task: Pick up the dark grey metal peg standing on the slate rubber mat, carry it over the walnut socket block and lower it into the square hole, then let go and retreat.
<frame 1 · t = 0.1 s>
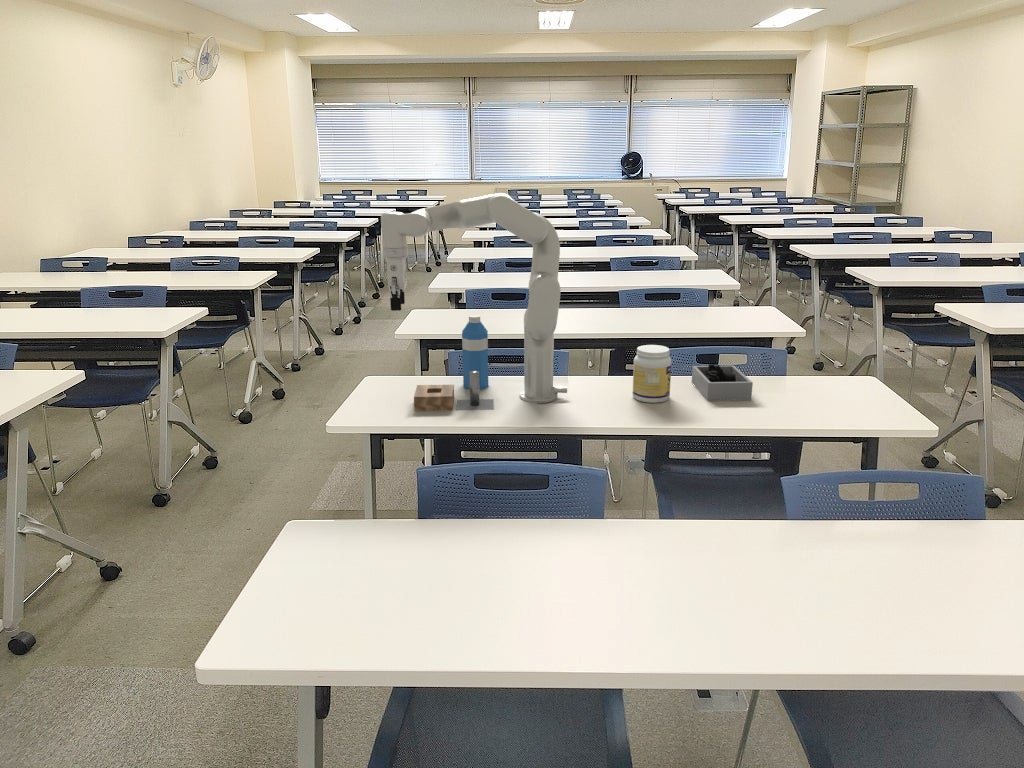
hand: (397, 307, 235), 31 cm above the table, fingers open, 9 cm apart
supplement tub: (650, 398, 245), on the table
film camera: (719, 391, 251), resting in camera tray
water bottle: (476, 386, 258), on the table
peg: (475, 404, 238), resting on mat
mat: (475, 405, 239), on the table
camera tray: (720, 390, 251), on the table
socket block: (434, 405, 239), on the table
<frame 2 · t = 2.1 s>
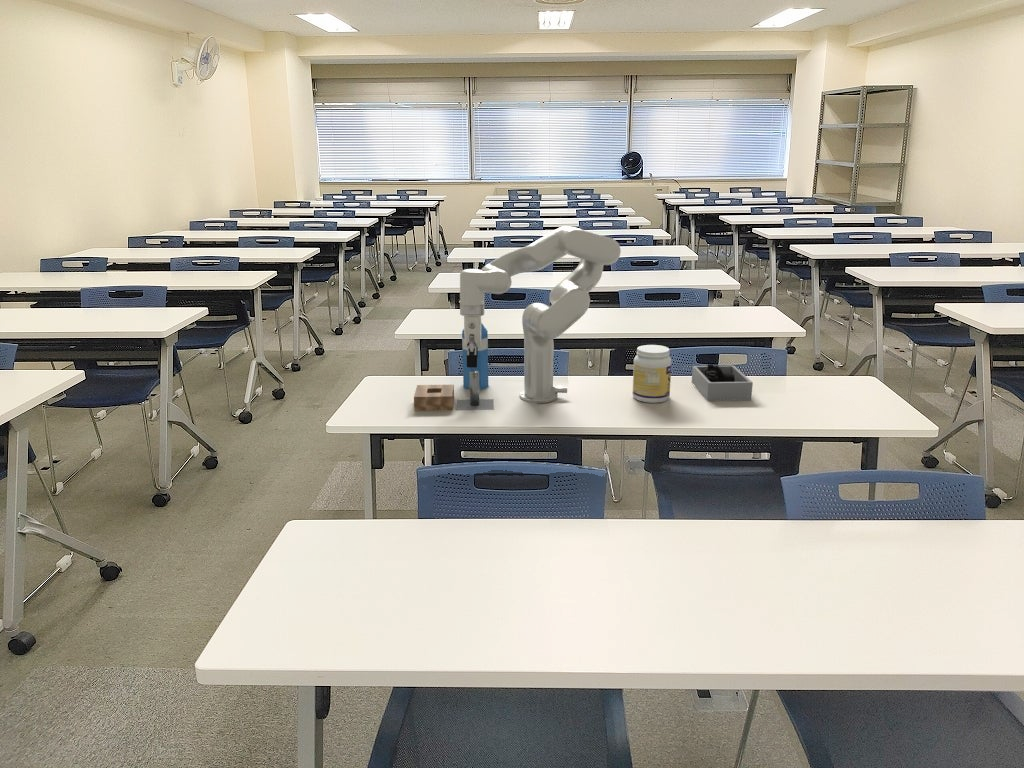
hand: (472, 362, 234), 14 cm above the table, fingers open, 9 cm apart
nothing on the table moved.
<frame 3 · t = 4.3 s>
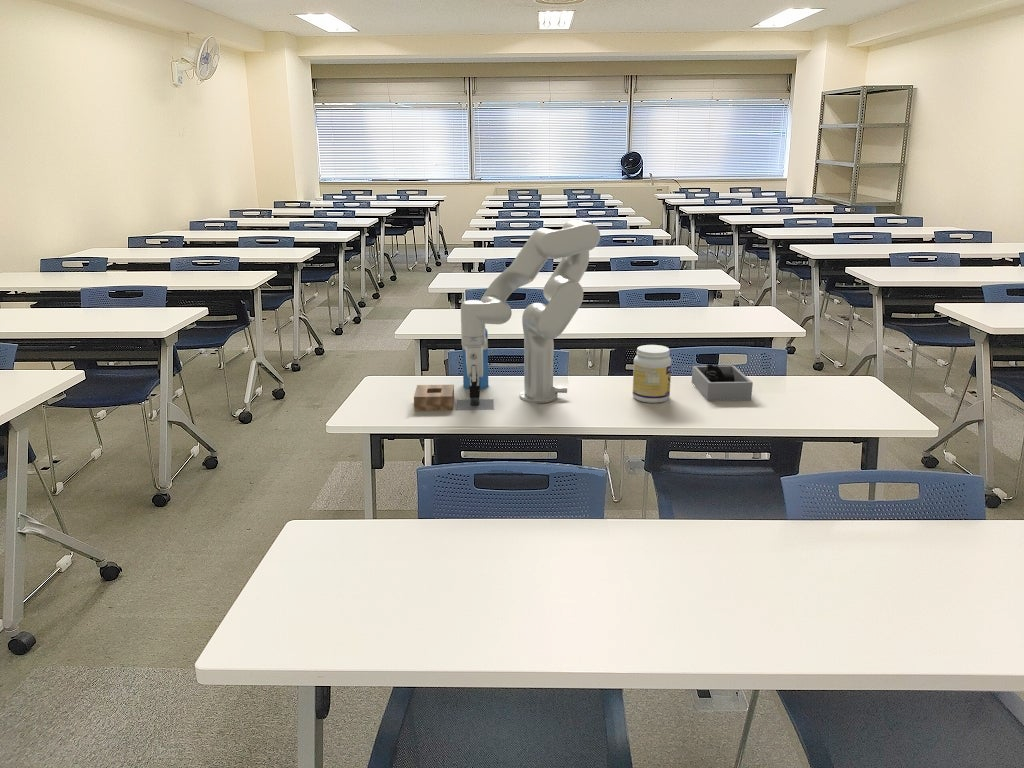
hand: (474, 395, 237), 4 cm above the table, fingers closed on peg, 3 cm apart
peg: (475, 404, 238), resting on mat, touching gripper
everything else where it was.
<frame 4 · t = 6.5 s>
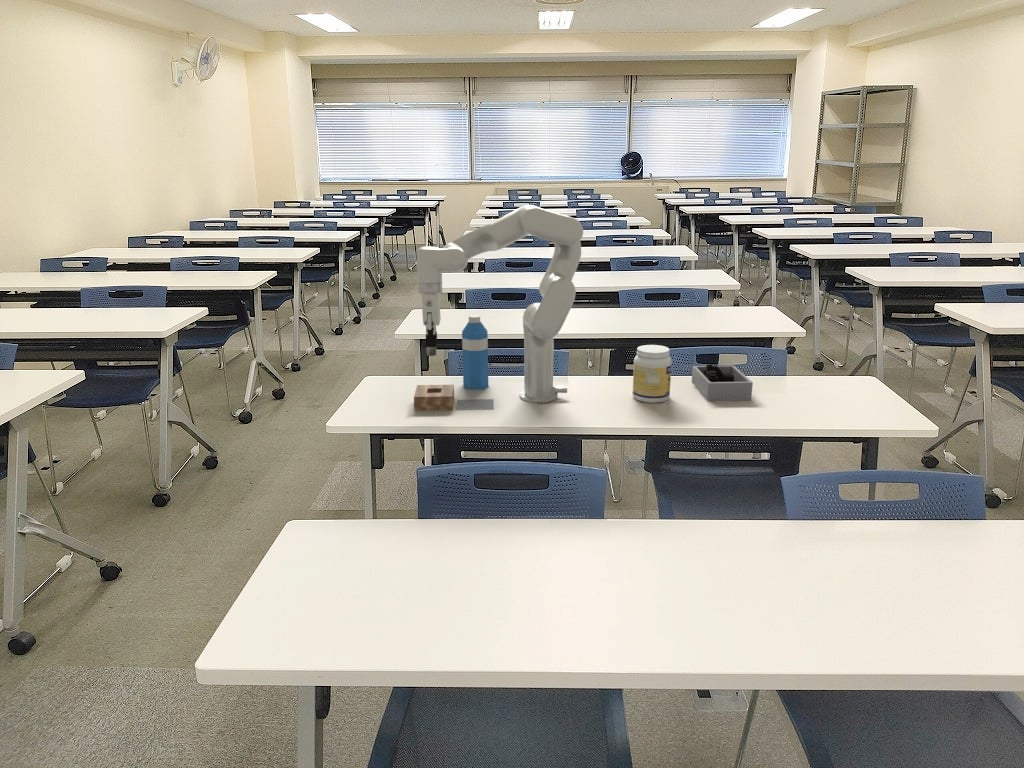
hand: (431, 344, 233), 20 cm above the table, fingers closed on peg, 3 cm apart
peg: (431, 354, 234), point 17 cm above the table, touching gripper
everything else where it was.
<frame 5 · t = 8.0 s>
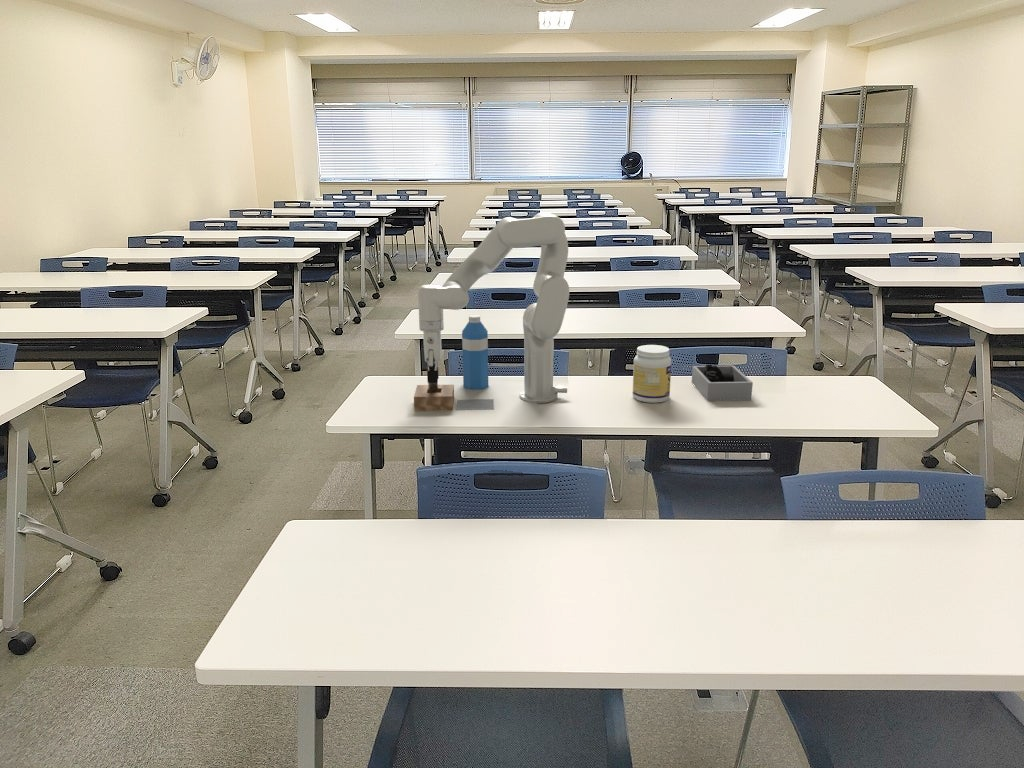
hand: (433, 380, 237), 8 cm above the table, fingers closed on peg, 3 cm apart
peg: (433, 389, 237), point 5 cm above the table, touching gripper
everything else where it was.
when the fingers open (6 cm above the table, at t = 9.2 s): peg drops 3 cm, resting in socket block.
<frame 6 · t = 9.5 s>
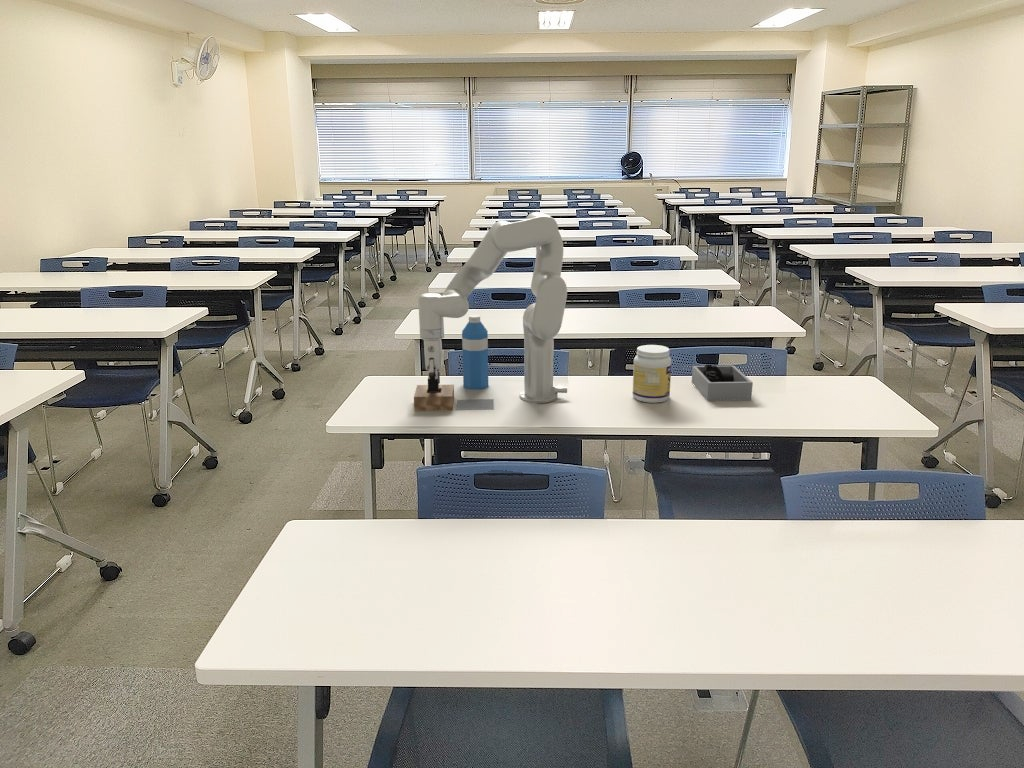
hand: (434, 386, 237), 6 cm above the table, fingers open, 6 cm apart
peg: (434, 405, 239), resting in socket block
everything else where it was.
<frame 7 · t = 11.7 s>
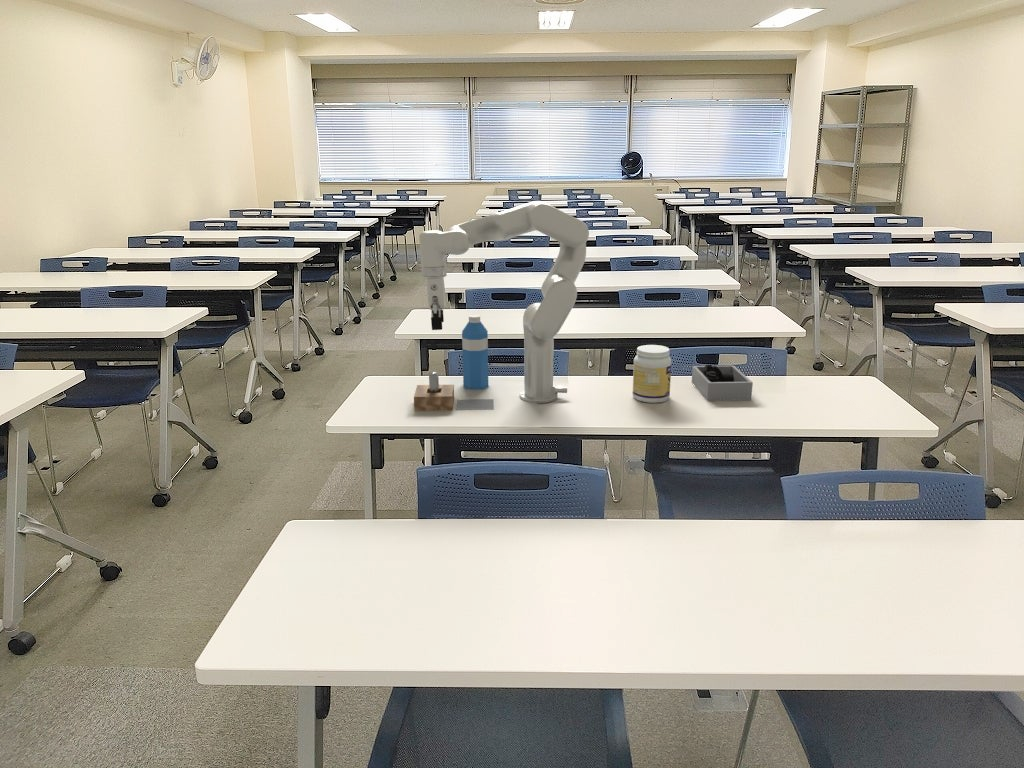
hand: (437, 325, 232), 26 cm above the table, fingers open, 9 cm apart
film camera: (717, 392, 251), resting in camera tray
everything else where it was.
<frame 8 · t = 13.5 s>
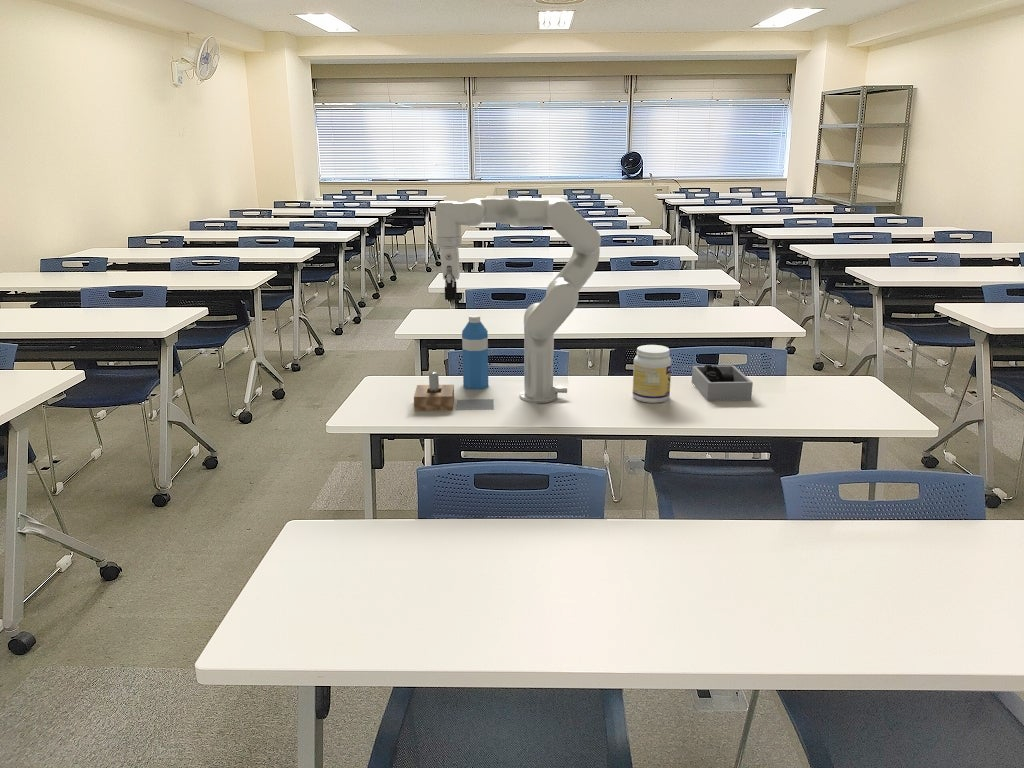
hand: (450, 296, 234), 34 cm above the table, fingers open, 9 cm apart
film camera: (716, 392, 251), resting in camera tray
everything else where it was.
at the end: peg 0.0 cm off-centre on the socket block, point 0.0 cm above the socket block's base; peg tilted 0°; the gripper is holding nothing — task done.
